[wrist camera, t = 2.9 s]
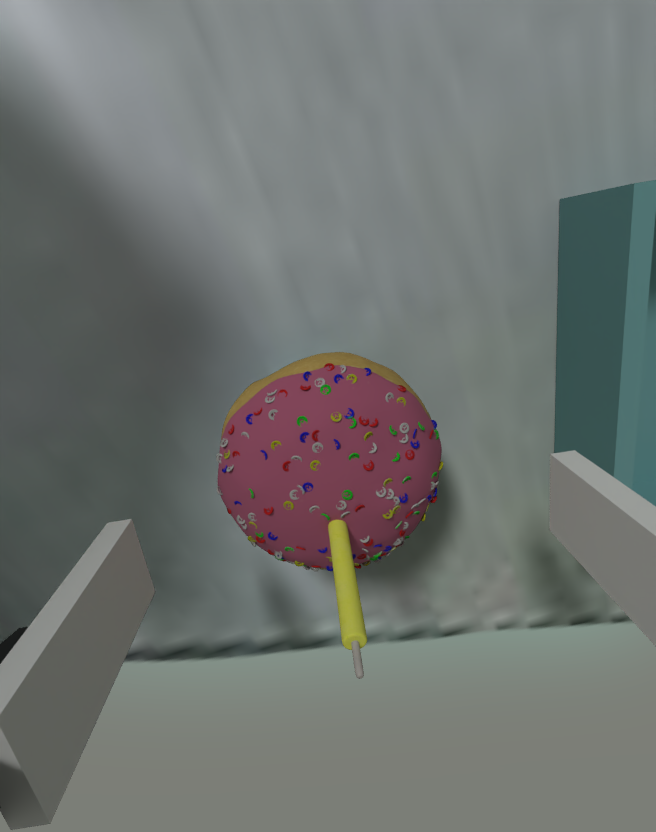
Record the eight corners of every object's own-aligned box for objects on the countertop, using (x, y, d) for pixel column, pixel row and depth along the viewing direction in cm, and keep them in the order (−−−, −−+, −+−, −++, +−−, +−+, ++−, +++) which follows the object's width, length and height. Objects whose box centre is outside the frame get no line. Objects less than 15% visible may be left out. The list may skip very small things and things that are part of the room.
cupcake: (418, 491, 23) (532, 713, 12) (252, 518, 23) (209, 767, 12) (403, 321, 20) (533, 403, 9) (213, 351, 20) (108, 471, 9)
